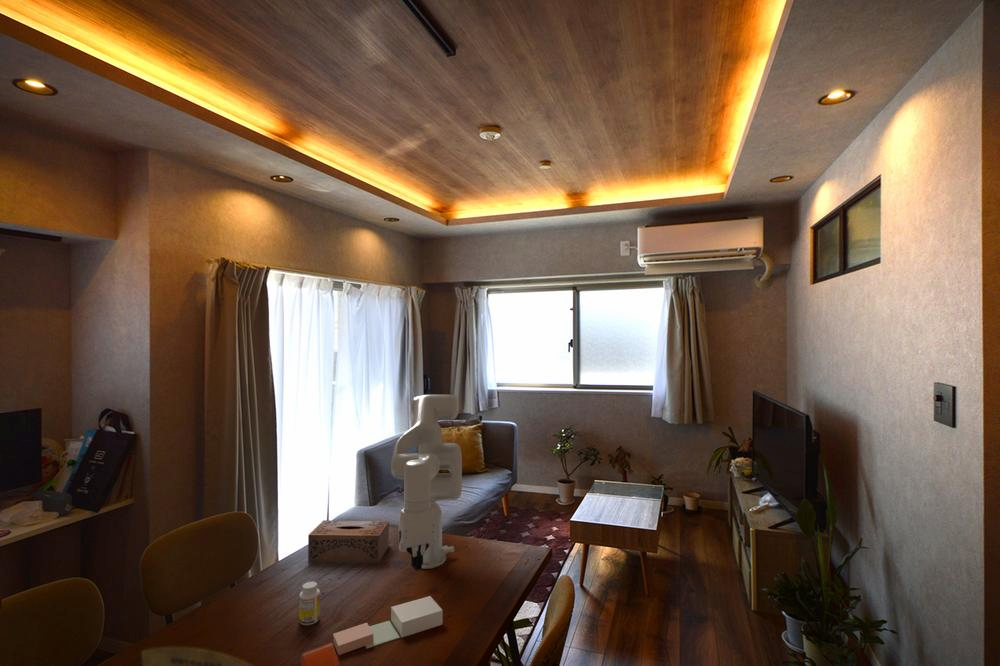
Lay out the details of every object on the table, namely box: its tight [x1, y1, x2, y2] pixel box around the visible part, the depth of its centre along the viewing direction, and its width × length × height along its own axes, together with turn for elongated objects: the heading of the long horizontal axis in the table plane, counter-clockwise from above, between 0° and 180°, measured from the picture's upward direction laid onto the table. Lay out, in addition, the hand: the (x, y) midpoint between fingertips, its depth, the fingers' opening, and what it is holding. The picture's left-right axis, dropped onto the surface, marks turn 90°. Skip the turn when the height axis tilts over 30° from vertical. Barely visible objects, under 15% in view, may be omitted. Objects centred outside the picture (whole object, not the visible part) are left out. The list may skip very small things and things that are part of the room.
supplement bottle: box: [298, 581, 321, 626], centre depth 140 cm, size 6×6×10 cm
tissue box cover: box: [307, 519, 390, 564], centre depth 185 cm, size 26×14×10 cm, turn 89°
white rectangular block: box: [390, 595, 444, 638], centre depth 140 cm, size 12×9×4 cm
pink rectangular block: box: [332, 622, 374, 656], centre depth 130 cm, size 9×6×2 cm, turn 121°
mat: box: [364, 620, 401, 649], centre depth 134 cm, size 9×9×1 cm
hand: (417, 568), depth 140 cm, fingers closed
